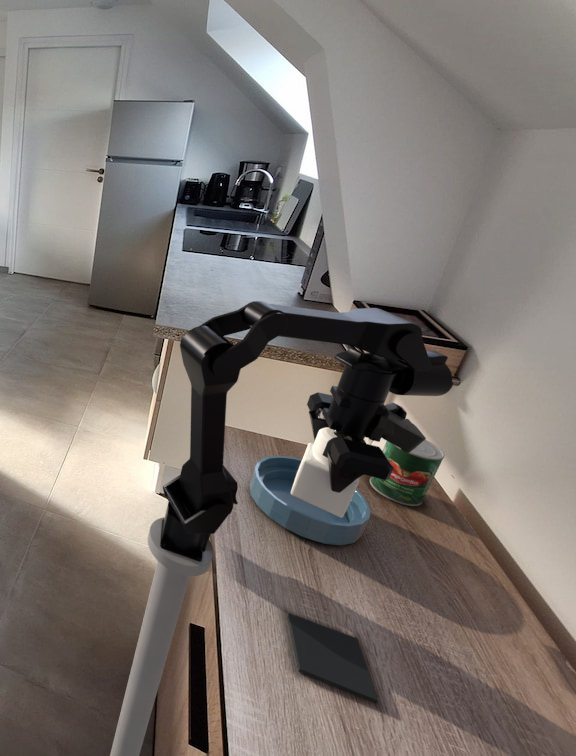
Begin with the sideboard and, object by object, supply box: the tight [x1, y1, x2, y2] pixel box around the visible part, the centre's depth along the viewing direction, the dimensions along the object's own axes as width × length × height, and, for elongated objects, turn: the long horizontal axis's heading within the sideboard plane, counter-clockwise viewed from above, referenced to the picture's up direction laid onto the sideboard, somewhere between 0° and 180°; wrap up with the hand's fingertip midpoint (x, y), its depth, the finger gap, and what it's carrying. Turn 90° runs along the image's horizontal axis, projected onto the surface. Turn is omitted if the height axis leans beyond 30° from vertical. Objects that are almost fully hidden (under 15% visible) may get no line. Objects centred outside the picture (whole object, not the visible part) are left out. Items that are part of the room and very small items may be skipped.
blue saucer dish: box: [248, 455, 371, 546], centre depth 83 cm, size 17×17×5 cm
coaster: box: [287, 612, 379, 704], centre depth 59 cm, size 8×8×1 cm
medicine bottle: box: [291, 427, 360, 518], centre depth 73 cm, size 7×7×12 cm
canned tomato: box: [369, 439, 445, 507], centre depth 87 cm, size 8×8×11 cm
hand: (327, 474), depth 74 cm, fingers closed on medicine bottle, 8 cm apart
